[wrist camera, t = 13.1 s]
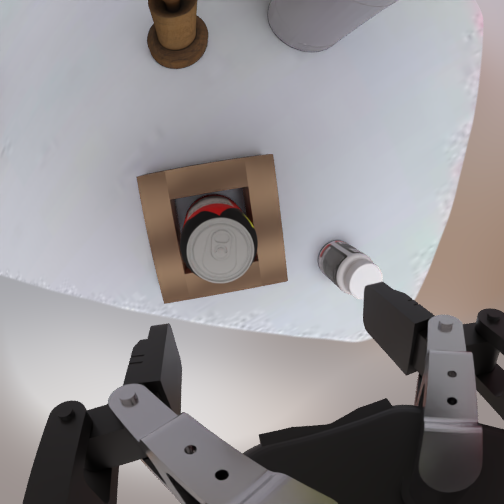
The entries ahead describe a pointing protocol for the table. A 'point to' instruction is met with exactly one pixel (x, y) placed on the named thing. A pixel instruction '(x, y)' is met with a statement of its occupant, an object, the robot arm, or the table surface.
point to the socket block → (206, 181)
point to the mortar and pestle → (176, 33)
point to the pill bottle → (348, 268)
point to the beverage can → (217, 239)
